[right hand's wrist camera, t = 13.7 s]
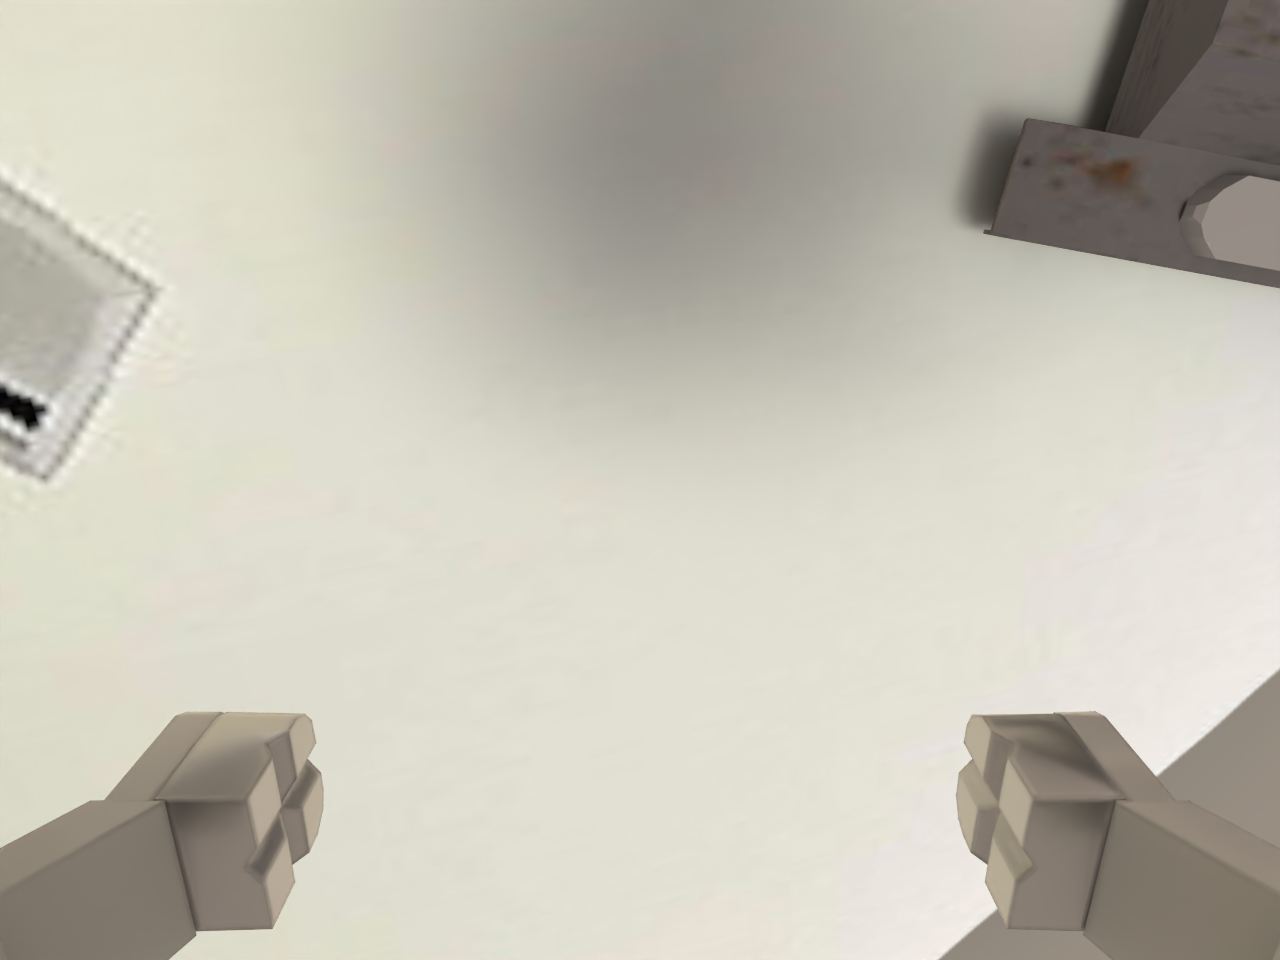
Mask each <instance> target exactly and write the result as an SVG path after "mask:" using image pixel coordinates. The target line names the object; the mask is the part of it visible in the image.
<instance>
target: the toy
mask: <svg viewBox="0 0 1280 960" xmlns="http://www.w3.org/2000/svg"><path fill="white" fill-rule="evenodd" d="M984 234H989V235H994V236H999V237H1005V238H1010V239H1016V240H1021V241H1026V242H1032V243H1037V244H1043V245H1048V246H1054V247H1059V248H1064V249H1070V250H1075V251H1081V252H1086V253H1092V254H1097V255H1102V256H1108V257H1113V258H1119V259H1124V260H1129V261H1135V262H1140V263H1146V264H1151V265H1157V266H1162V267H1167V268H1173V269H1178V270H1184V271H1189V272H1195V273H1200V274H1205V275H1211V276H1216V277H1222V278H1227V279H1233V280H1238V281H1243V282H1249V283H1254V284H1260V285H1265V286H1271V287H1276V288H1280V0H1149V2H1148V5H1147V8H1146V11H1145V14H1144V17H1143V20H1142V23H1141V26H1140V29H1139V32H1138V34H1137V37H1136V40H1135V43H1134V46H1133V49H1132V52H1131V55H1130V58H1129V61H1128V64H1127V67H1126V70H1125V73H1124V76H1123V79H1122V82H1121V85H1120V88H1119V91H1118V94H1117V97H1116V100H1115V103H1114V106H1113V109H1112V111H1111V114H1110V117H1109V120H1108V123H1107V126H1106V129H1105V132H1102V131H1097V130H1092V129H1087V128H1082V127H1076V126H1071V125H1066V124H1060V123H1054V122H1048V121H1042V120H1036V119H1029V118H1028V119H1026V120H1025V122H1024V125H1023V128H1022V131H1021V135H1020V138H1019V141H1018V144H1017V147H1016V151H1015V154H1014V157H1013V160H1012V164H1011V167H1010V170H1009V173H1008V176H1007V180H1006V183H1005V186H1004V189H1003V193H1002V196H1001V199H1000V202H999V206H998V209H997V212H996V215H995V218H994V222H993V225H992V228H991V230H984Z"/></svg>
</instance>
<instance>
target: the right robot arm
mask: <svg viewBox="0 0 1280 960" xmlns="http://www.w3.org/2000/svg"><path fill="white" fill-rule="evenodd" d="M315 744H316V739H315V734H314V729H313V724H312V720H311V719H310V718H309V717H308V716H307V715H306V714H295V713H248V712H226V713H222V712H185V713H182V714H179V715H177V716H175V717H174V718H173V719H172V720H171V722H170V723H169V724H168V725H167V726H166V728H165V729H164V730H163V731H162V732H161V733H160V735H159V736H158V737H157V738H156V739H155V741H154V742H153V743H152V744H151V745H150V746H149V748H148V749H147V750H146V751H145V752H144V754H143V755H142V756H141V757H140V758H139V760H138V761H137V762H136V763H135V764H134V765H133V767H132V768H131V769H130V770H129V771H128V773H127V774H126V775H125V776H124V777H123V778H122V780H121V781H120V782H119V783H118V784H117V786H116V787H115V788H114V789H113V790H112V791H111V793H110V794H109V795H108V796H107V797H106V799H105V800H104V801H89V802H87V803H85V804H83V805H81V806H79V807H78V808H76V809H74V810H72V811H70V812H68V813H66V814H64V815H62V816H60V817H59V818H57V819H55V820H53V821H51V822H49V823H47V824H45V825H43V826H41V827H40V828H38V829H36V830H34V831H32V832H30V833H28V834H26V835H24V836H22V837H21V838H19V839H17V840H15V841H13V842H11V843H9V844H7V845H5V846H3V847H2V848H0V960H169V959H170V958H171V957H172V956H173V955H174V954H175V953H177V952H178V951H179V950H180V949H181V948H182V947H184V946H185V945H186V944H187V943H188V942H189V941H191V940H192V939H193V938H194V937H195V936H196V931H220V930H254V929H273V927H274V925H275V923H276V921H277V918H278V916H279V914H280V912H281V910H282V908H283V906H284V904H285V902H286V900H287V898H288V896H289V894H290V892H291V890H292V887H293V885H294V883H295V878H294V872H293V867H292V865H293V864H294V863H295V862H297V861H298V860H300V859H301V858H302V857H304V856H305V855H306V854H308V853H309V852H310V850H311V847H312V845H313V843H314V841H315V839H316V836H317V834H318V830H319V826H320V821H321V817H322V812H323V783H322V776H321V772H320V771H319V770H318V769H317V768H316V767H315V766H314V765H313V764H312V763H311V762H310V761H309V760H308V757H309V755H310V753H311V751H312V749H313V748H314V746H315ZM964 744H965V746H966V748H967V749H968V751H969V753H970V755H971V757H972V760H971V761H970V762H969V763H968V764H967V765H966V766H965V767H964V768H963V769H962V770H961V771H960V772H959V776H958V785H957V793H956V799H957V810H958V819H959V823H960V826H961V830H962V834H963V837H964V839H965V841H966V843H967V845H968V848H969V850H970V852H971V853H972V854H974V855H975V856H976V857H978V858H979V859H980V860H982V861H983V862H985V863H986V864H987V865H988V867H987V872H986V878H985V883H986V885H987V888H988V890H989V892H990V894H991V896H992V898H993V900H994V902H995V904H996V906H997V908H998V910H999V912H1000V914H1001V916H1002V918H1003V920H1004V922H1005V924H1006V927H1007V929H1024V930H1059V931H1084V934H1083V935H1084V936H1085V937H1086V938H1088V939H1089V940H1090V941H1091V942H1092V943H1093V944H1095V945H1096V946H1097V947H1098V948H1099V949H1100V950H1101V951H1103V952H1104V953H1105V954H1106V955H1107V956H1108V957H1110V958H1111V959H1112V960H1280V848H1278V847H1276V846H1274V845H1273V844H1271V843H1269V842H1267V841H1265V840H1263V839H1261V838H1259V837H1257V836H1255V835H1254V834H1252V833H1250V832H1248V831H1246V830H1244V829H1242V828H1240V827H1238V826H1236V825H1235V824H1233V823H1231V822H1229V821H1227V820H1225V819H1223V818H1221V817H1219V816H1218V815H1216V814H1214V813H1212V812H1210V811H1208V810H1206V809H1204V808H1202V807H1200V806H1199V805H1197V804H1195V803H1193V802H1191V801H1176V800H1175V799H1174V798H1173V796H1172V795H1171V794H1170V793H1169V792H1168V790H1167V789H1166V788H1165V787H1164V786H1163V784H1162V783H1161V782H1160V781H1159V780H1158V779H1157V777H1156V776H1155V775H1154V774H1153V773H1152V771H1151V770H1150V769H1149V768H1148V767H1147V766H1146V764H1145V763H1144V762H1143V761H1142V760H1141V758H1140V757H1139V756H1138V755H1137V754H1136V753H1135V751H1134V750H1133V749H1132V748H1131V747H1130V745H1129V744H1128V743H1127V742H1126V741H1125V740H1124V738H1123V737H1122V736H1121V735H1120V734H1119V732H1118V731H1117V730H1116V729H1115V728H1114V727H1113V725H1112V724H1111V723H1110V722H1109V721H1108V719H1107V718H1106V717H1105V716H1103V715H1101V714H1099V713H1097V712H1095V711H1091V712H1058V713H1053V714H985V715H972V716H971V718H970V720H969V722H968V724H967V727H966V733H965V738H964Z"/></svg>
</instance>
